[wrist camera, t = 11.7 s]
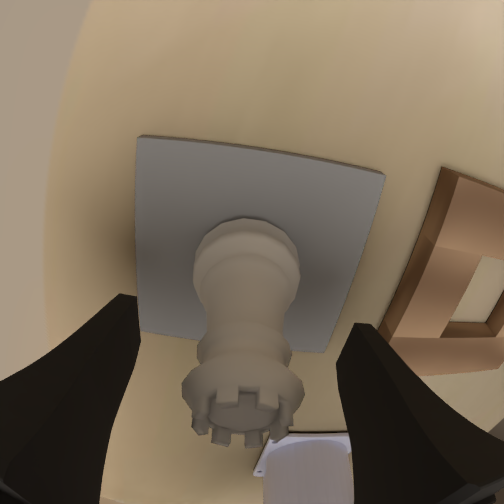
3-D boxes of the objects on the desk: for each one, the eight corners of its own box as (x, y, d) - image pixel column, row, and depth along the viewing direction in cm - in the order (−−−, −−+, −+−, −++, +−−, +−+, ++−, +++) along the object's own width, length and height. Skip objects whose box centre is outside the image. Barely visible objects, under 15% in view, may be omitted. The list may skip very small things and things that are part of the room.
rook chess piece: (203, 303, 15) (175, 458, 8) (189, 216, 13) (127, 369, 6) (297, 300, 15) (321, 456, 8) (299, 211, 13) (346, 366, 6)
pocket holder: (490, 355, 19) (498, 368, 18) (363, 359, 18) (369, 377, 17) (562, 217, 13) (576, 227, 12) (441, 166, 12) (459, 176, 11)
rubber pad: (322, 345, 17) (323, 352, 17) (143, 323, 17) (140, 330, 16) (381, 171, 13) (386, 175, 12) (142, 135, 12) (137, 137, 11)
